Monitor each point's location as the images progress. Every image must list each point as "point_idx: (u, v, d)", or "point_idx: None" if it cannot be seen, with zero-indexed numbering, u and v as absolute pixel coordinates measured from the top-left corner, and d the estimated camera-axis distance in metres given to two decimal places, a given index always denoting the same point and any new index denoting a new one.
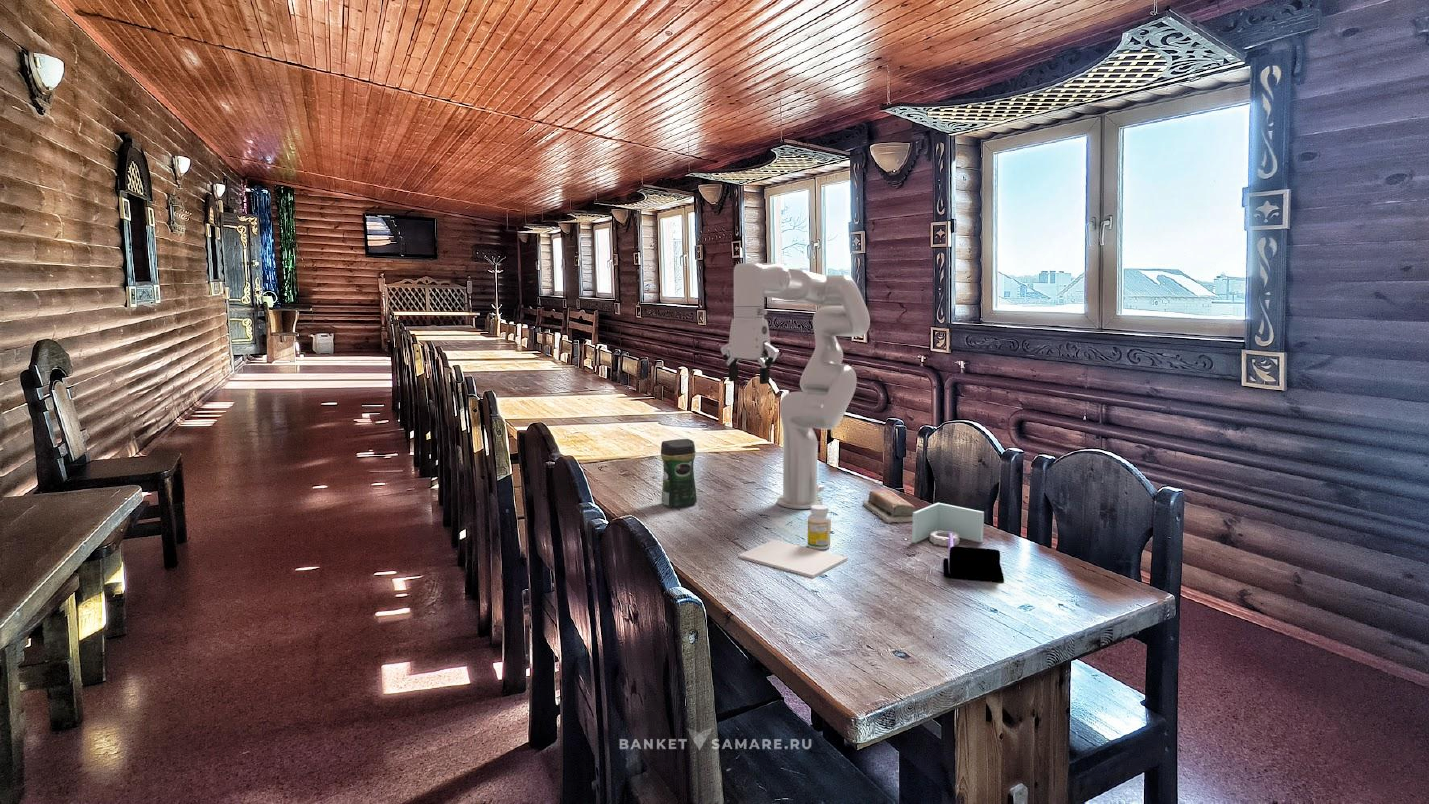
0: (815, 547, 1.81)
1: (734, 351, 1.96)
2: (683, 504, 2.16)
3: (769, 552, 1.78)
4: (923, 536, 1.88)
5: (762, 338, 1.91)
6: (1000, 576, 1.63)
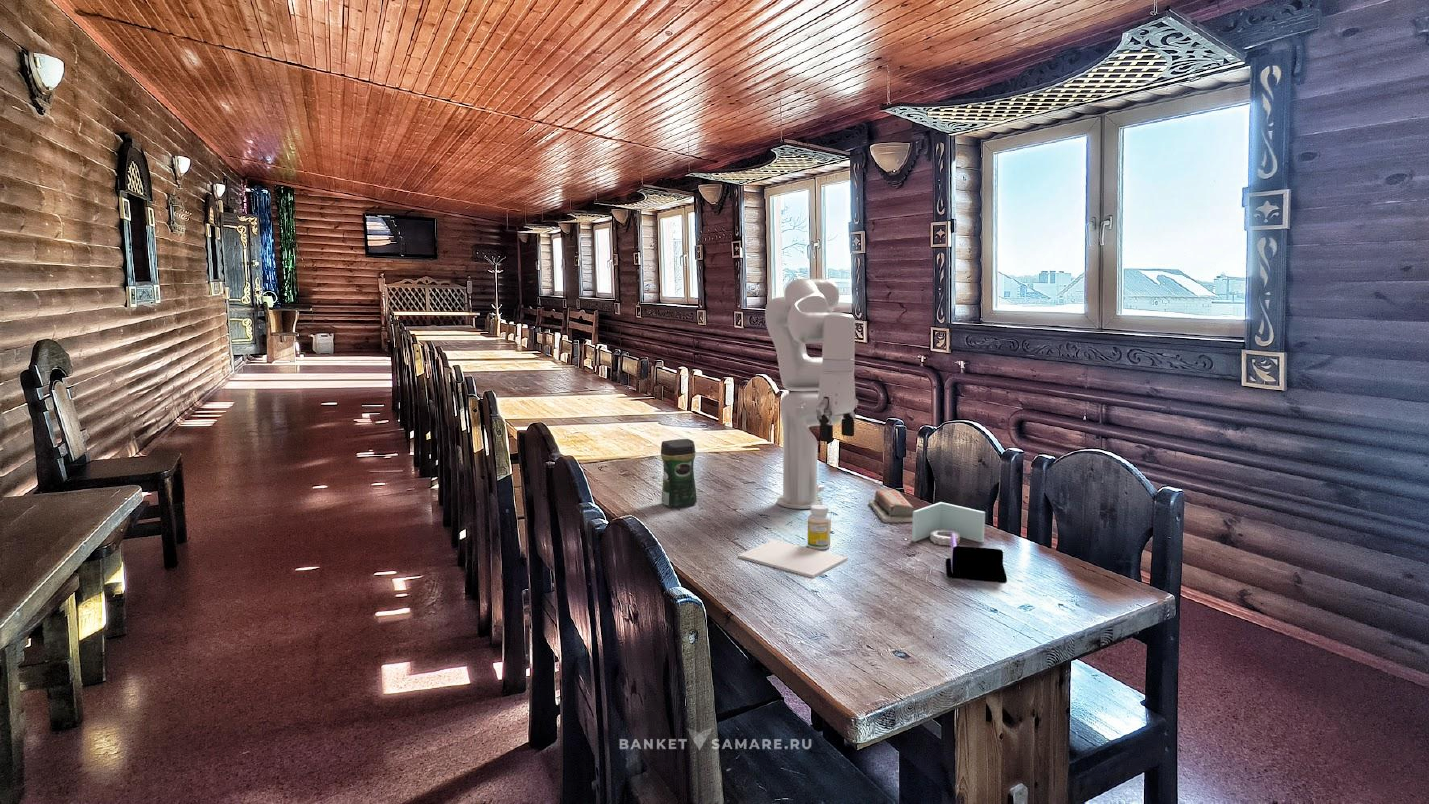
0: (815, 547, 1.81)
1: (839, 408, 1.81)
2: (683, 504, 2.16)
3: (769, 552, 1.78)
4: (924, 535, 1.89)
5: None
6: (1003, 576, 1.63)
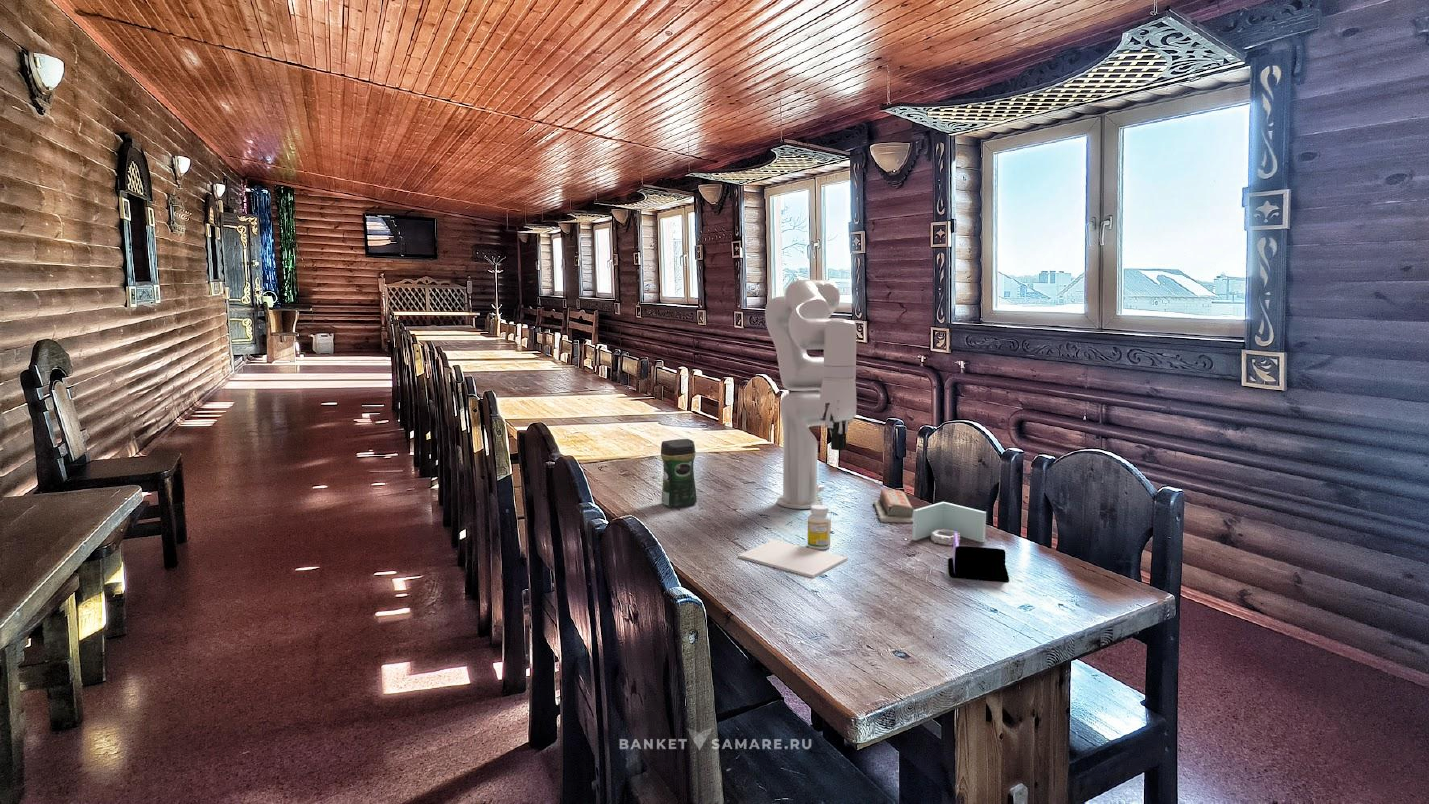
0: (815, 547, 1.81)
1: (840, 414, 1.81)
2: (683, 504, 2.16)
3: (769, 552, 1.78)
4: (925, 534, 1.90)
5: None
6: (1005, 575, 1.63)
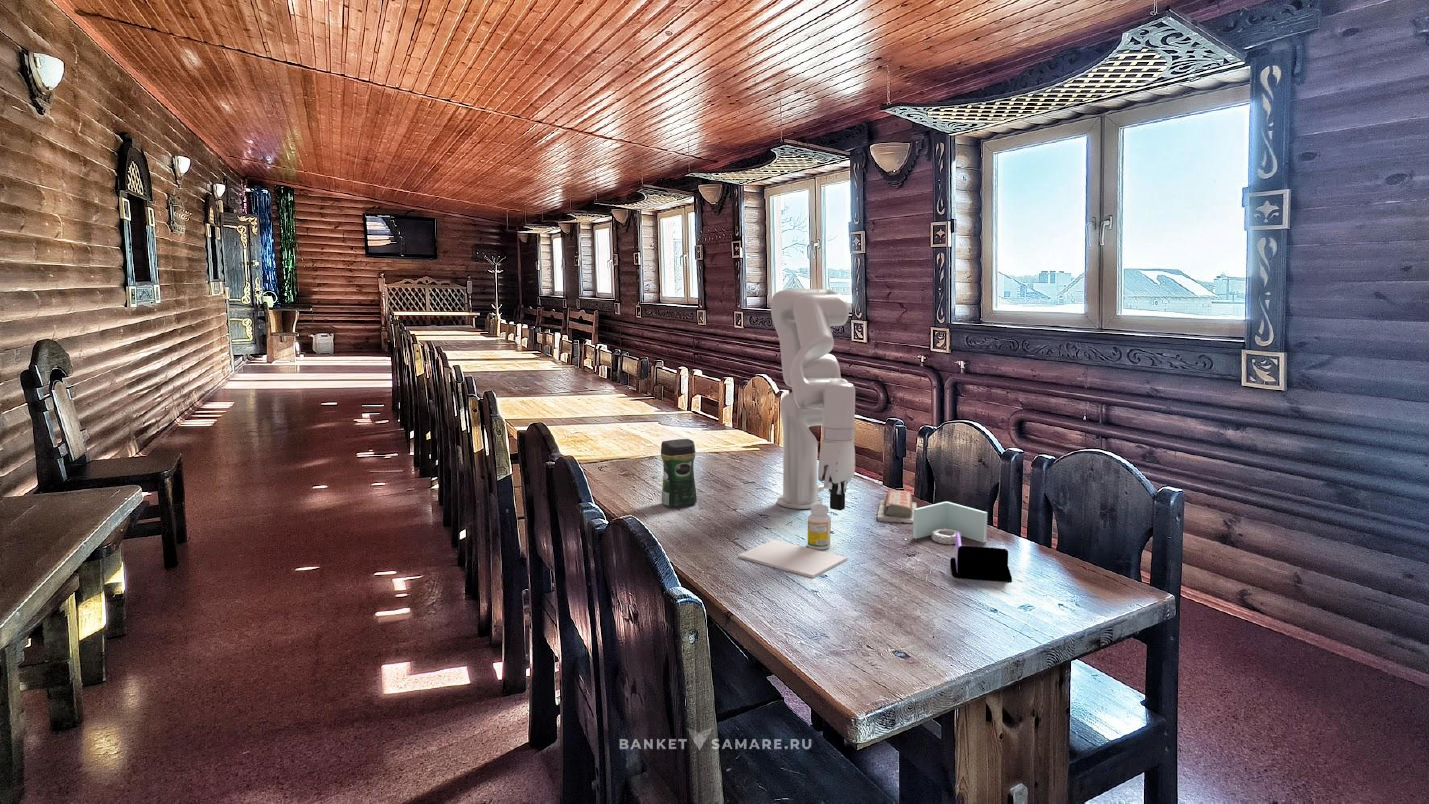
0: (815, 547, 1.81)
1: (839, 476, 1.84)
2: (683, 504, 2.16)
3: (769, 552, 1.78)
4: (926, 533, 1.91)
5: None
6: (1008, 575, 1.63)
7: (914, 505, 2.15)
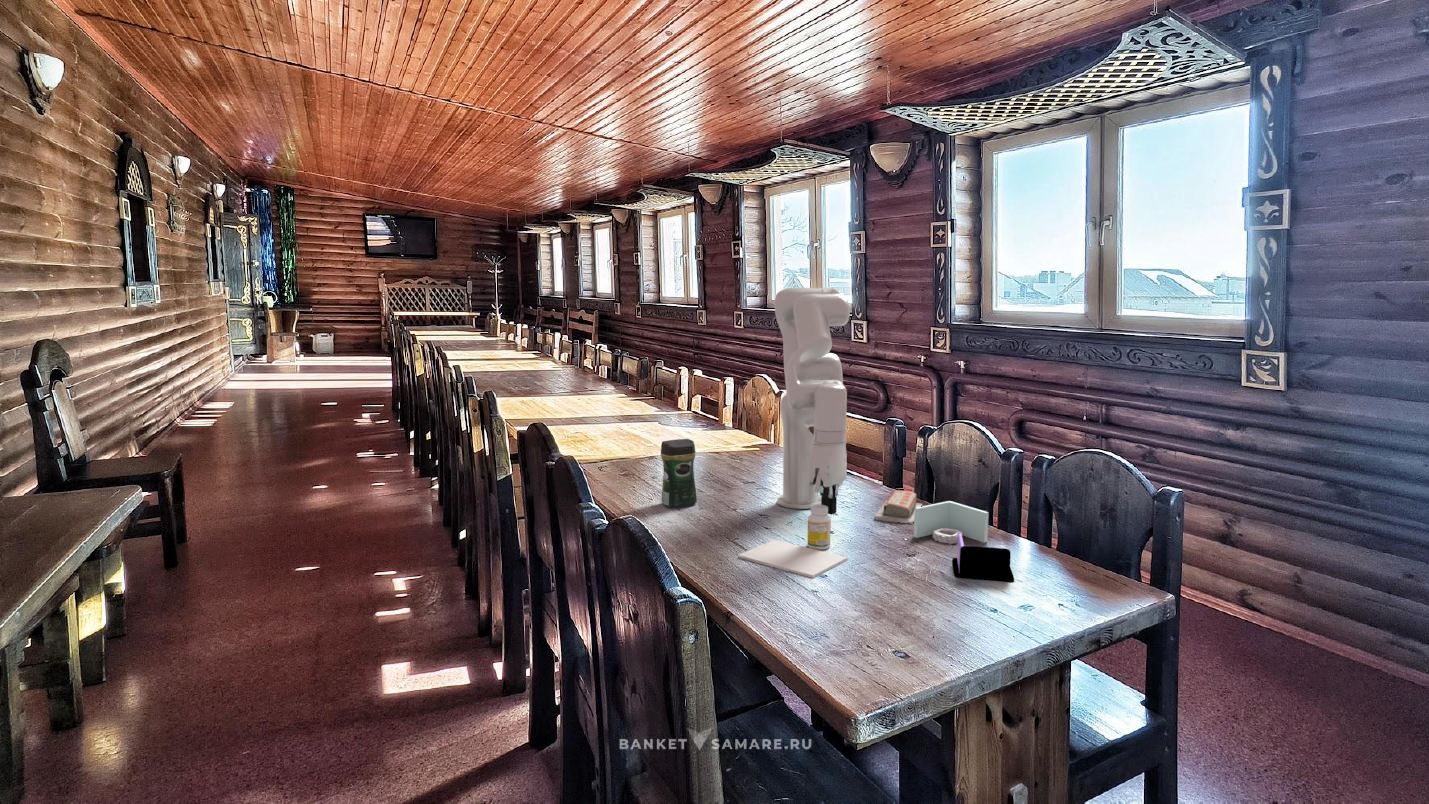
0: (815, 547, 1.81)
1: (830, 479, 1.81)
2: (683, 504, 2.16)
3: (769, 552, 1.78)
4: (927, 532, 1.91)
5: None
6: (1010, 575, 1.63)
7: (919, 506, 2.14)
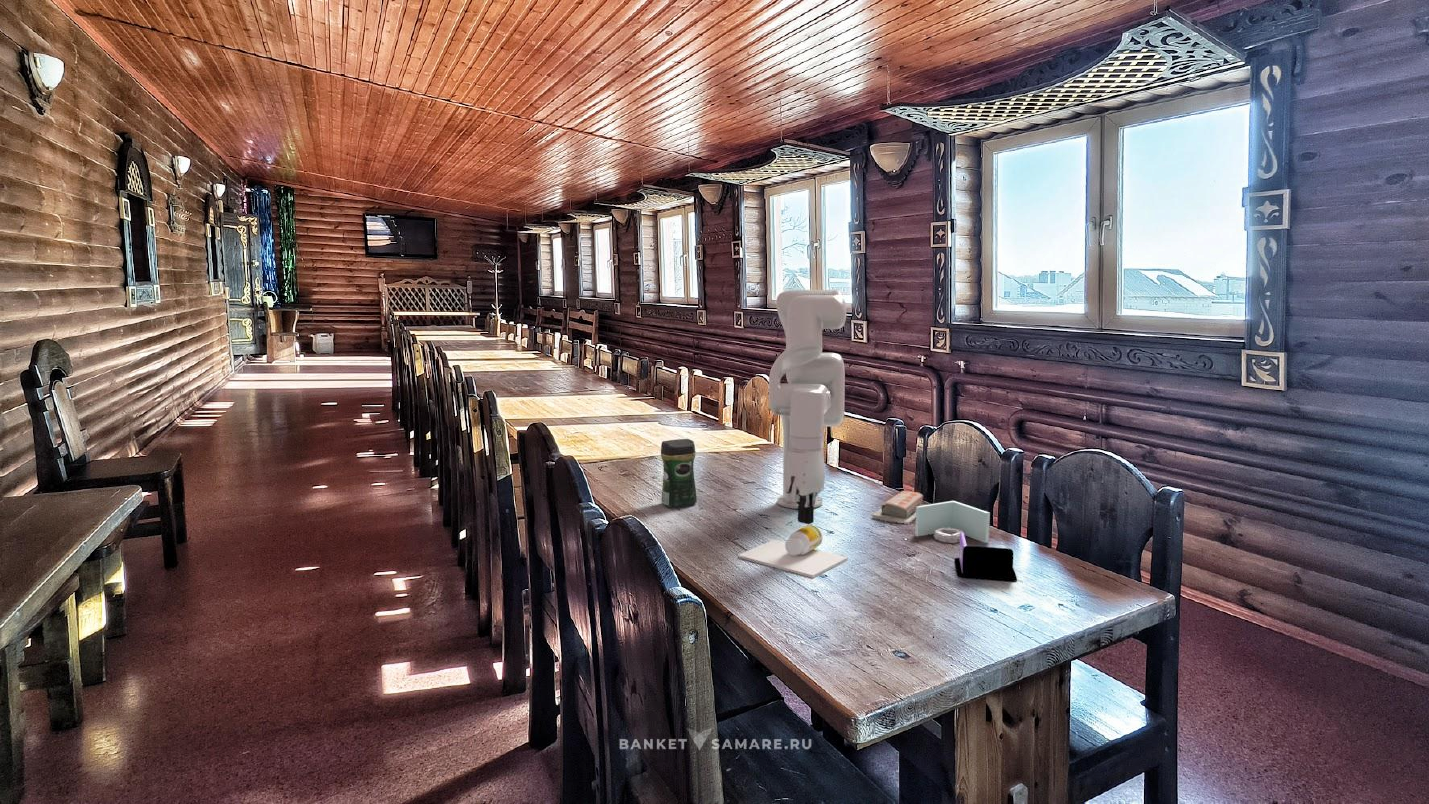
0: None
1: (807, 487, 1.73)
2: (683, 504, 2.16)
3: (769, 552, 1.78)
4: (929, 531, 1.92)
5: None
6: (1013, 575, 1.63)
7: None
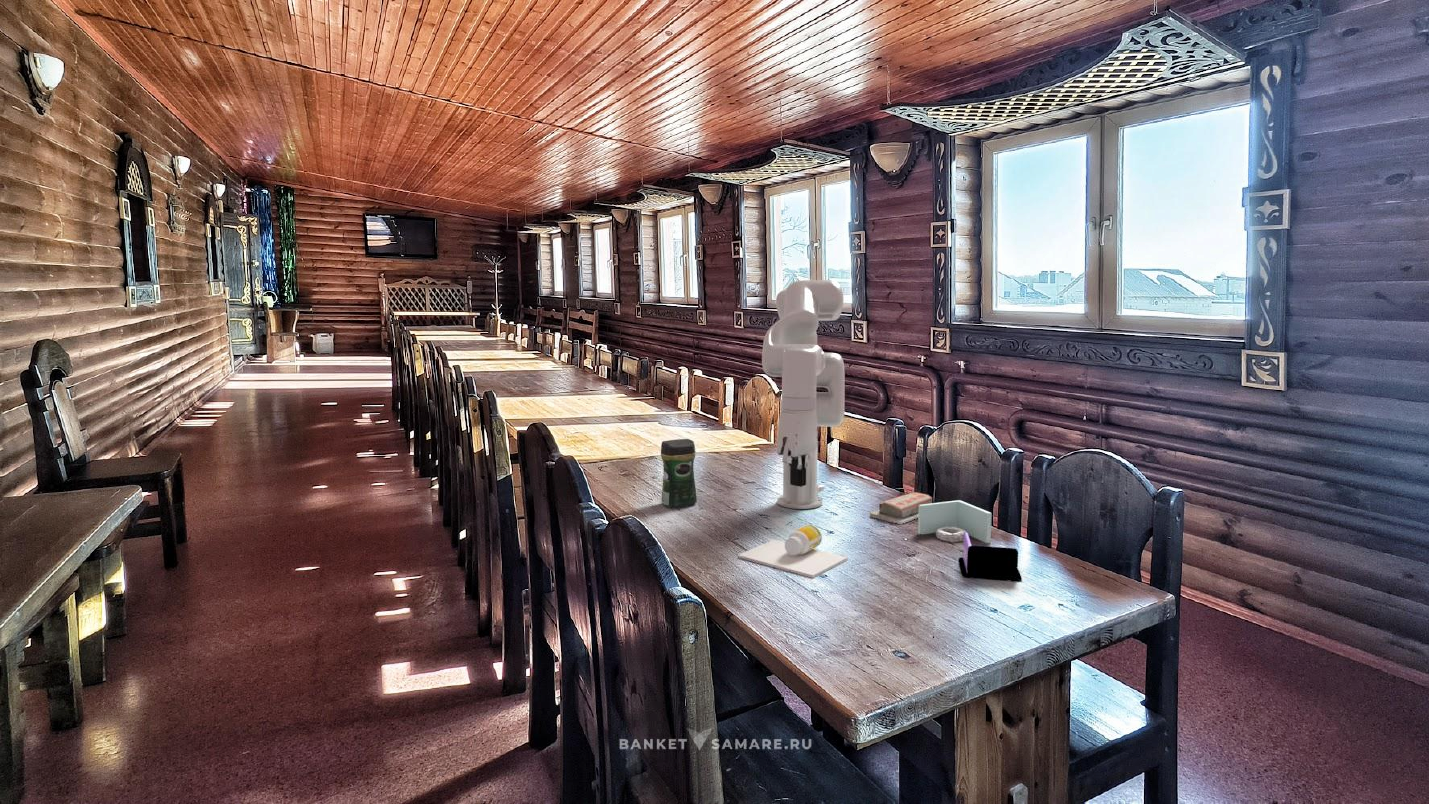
0: None
1: (799, 449, 1.70)
2: (683, 504, 2.16)
3: (769, 552, 1.78)
4: (933, 530, 1.93)
5: None
6: (1017, 575, 1.64)
7: None
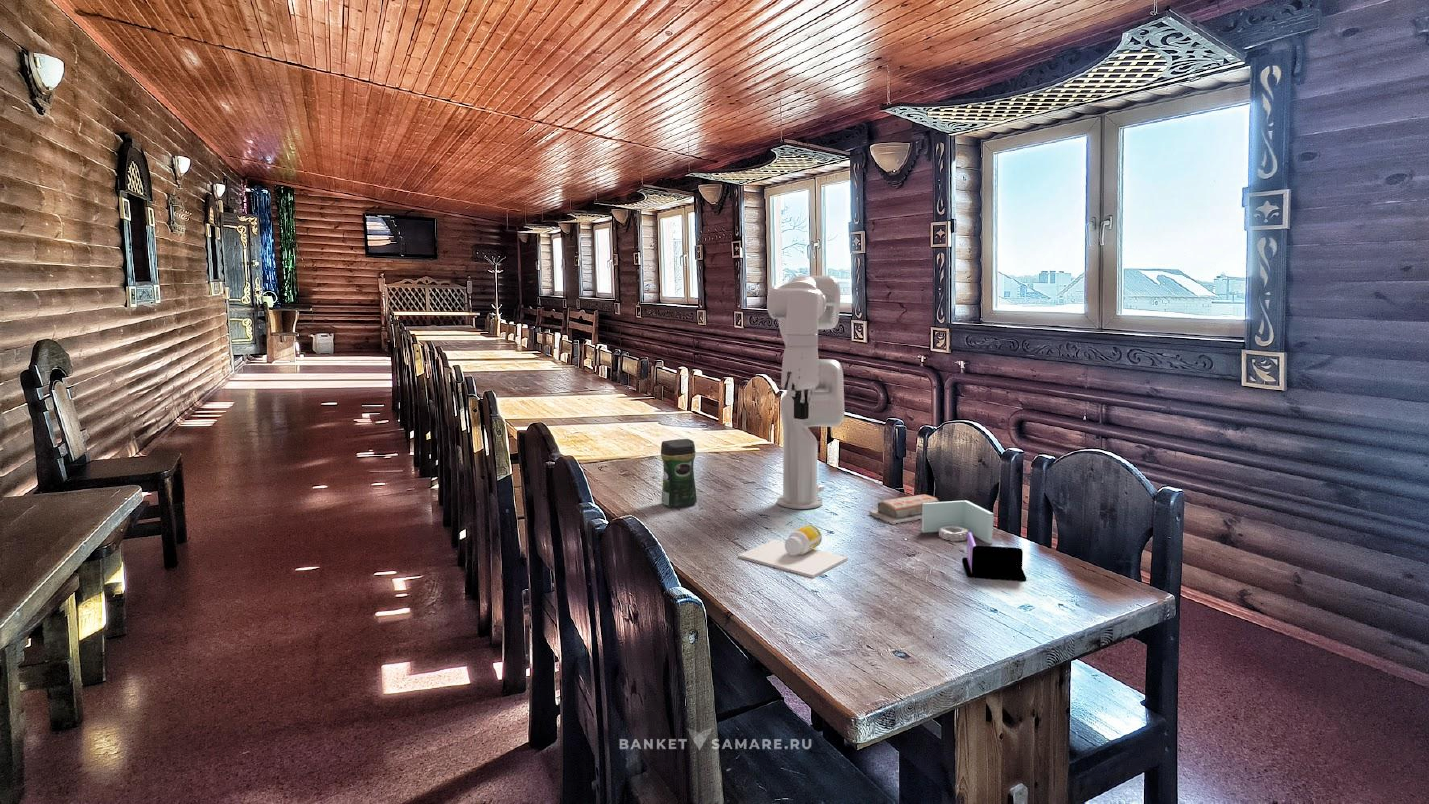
0: None
1: (802, 383, 1.83)
2: (683, 504, 2.16)
3: (769, 552, 1.78)
4: (937, 528, 1.94)
5: None
6: (1022, 574, 1.64)
7: None
